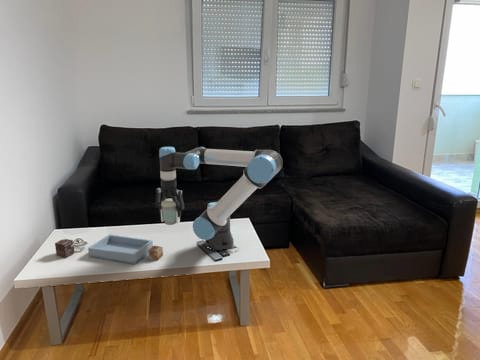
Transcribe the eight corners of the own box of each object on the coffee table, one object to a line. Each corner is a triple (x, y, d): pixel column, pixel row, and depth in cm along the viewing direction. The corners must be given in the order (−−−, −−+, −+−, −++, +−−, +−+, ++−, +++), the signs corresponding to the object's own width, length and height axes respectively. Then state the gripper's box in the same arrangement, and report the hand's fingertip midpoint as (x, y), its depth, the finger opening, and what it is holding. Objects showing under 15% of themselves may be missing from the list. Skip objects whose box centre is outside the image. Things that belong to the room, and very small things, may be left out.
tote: (153, 249, 196) (152, 240, 195) (134, 264, 181) (134, 254, 179) (110, 242, 204) (109, 234, 202) (89, 257, 188) (88, 247, 187)
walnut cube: (163, 256, 189) (162, 246, 188) (158, 260, 185) (157, 251, 183) (154, 254, 191) (153, 245, 189) (149, 259, 186) (148, 249, 185)
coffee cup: (175, 226, 188) (174, 203, 185) (159, 225, 189) (158, 202, 186) (181, 220, 196) (180, 198, 193) (165, 219, 197) (164, 197, 194)
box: (65, 258, 187) (63, 244, 185) (56, 256, 189) (54, 243, 187) (74, 253, 192) (73, 240, 190) (65, 251, 194) (63, 238, 192)
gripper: (190, 178, 187) (192, 221, 193) (153, 174, 192) (155, 216, 199) (184, 182, 180) (186, 226, 186) (145, 178, 185) (148, 222, 192)
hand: (170, 221), depth 192 cm, fingers closed on coffee cup, 8 cm apart
